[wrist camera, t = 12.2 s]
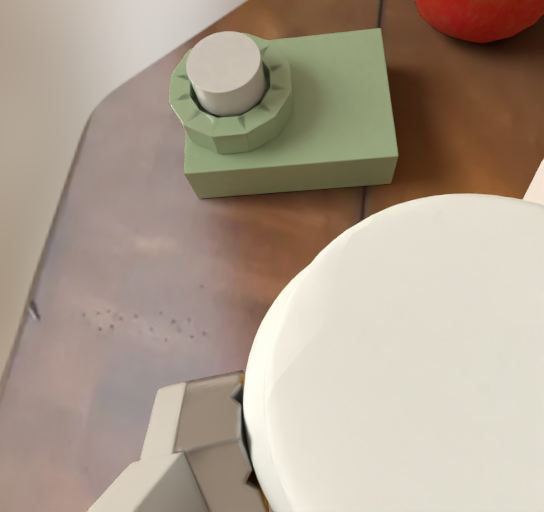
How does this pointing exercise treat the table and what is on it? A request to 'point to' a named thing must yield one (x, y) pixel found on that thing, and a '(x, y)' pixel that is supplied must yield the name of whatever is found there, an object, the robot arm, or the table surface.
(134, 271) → the table surface
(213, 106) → the button
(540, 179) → the thin white square mat
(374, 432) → the supplement bottle
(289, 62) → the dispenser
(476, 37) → the apple
